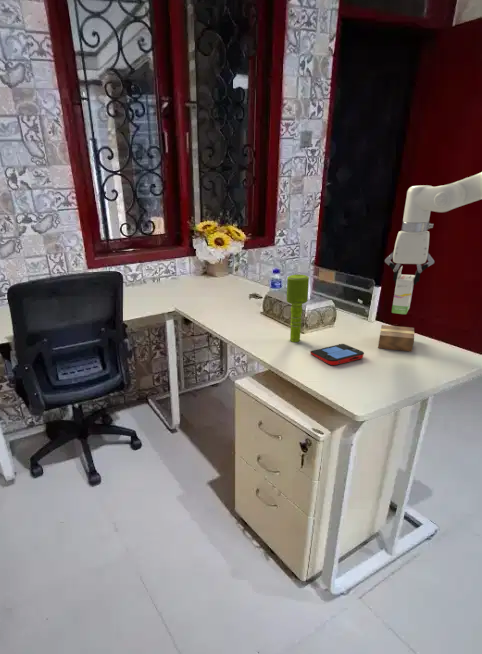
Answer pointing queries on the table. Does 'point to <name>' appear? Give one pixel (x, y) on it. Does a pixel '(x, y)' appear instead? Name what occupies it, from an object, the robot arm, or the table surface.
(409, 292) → the ink box
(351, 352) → the game console
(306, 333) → the table surface
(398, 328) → the cardboard box
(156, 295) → the table surface
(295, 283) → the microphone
